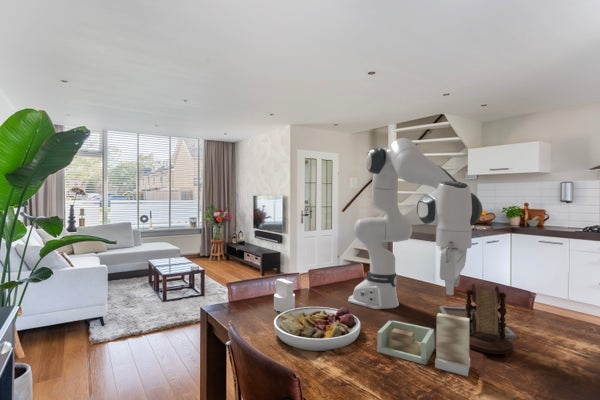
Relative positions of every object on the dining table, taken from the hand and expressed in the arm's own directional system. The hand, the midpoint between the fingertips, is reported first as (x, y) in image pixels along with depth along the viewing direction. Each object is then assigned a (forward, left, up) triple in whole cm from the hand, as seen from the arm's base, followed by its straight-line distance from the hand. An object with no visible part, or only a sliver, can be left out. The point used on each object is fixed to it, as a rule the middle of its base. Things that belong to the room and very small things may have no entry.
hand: (452, 289), depth 90 cm
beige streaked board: (0, 0, -21) cm, 21 cm away
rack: (-13, +3, -22) cm, 26 cm away
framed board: (+1, +45, -23) cm, 50 cm away
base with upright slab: (-68, +15, -23) cm, 74 cm away
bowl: (-43, 0, -23) cm, 49 cm away
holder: (0, 0, -22) cm, 22 cm away
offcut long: (-13, +2, -21) cm, 25 cm away
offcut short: (-14, +2, -18) cm, 23 cm away
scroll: (+7, +21, -23) cm, 31 cm away
